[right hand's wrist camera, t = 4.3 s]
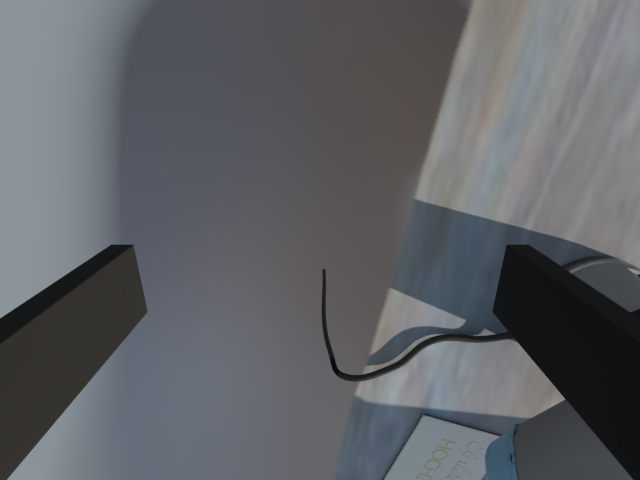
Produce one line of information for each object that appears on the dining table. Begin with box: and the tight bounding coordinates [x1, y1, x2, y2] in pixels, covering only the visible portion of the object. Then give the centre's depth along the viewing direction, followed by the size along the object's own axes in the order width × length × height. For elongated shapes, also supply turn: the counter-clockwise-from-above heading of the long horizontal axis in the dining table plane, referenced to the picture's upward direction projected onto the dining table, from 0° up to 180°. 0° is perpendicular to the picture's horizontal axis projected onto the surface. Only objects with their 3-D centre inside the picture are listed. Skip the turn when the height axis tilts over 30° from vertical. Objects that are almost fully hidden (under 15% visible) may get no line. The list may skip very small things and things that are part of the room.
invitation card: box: [383, 415, 500, 480], centre depth 56 cm, size 21×1×15 cm
